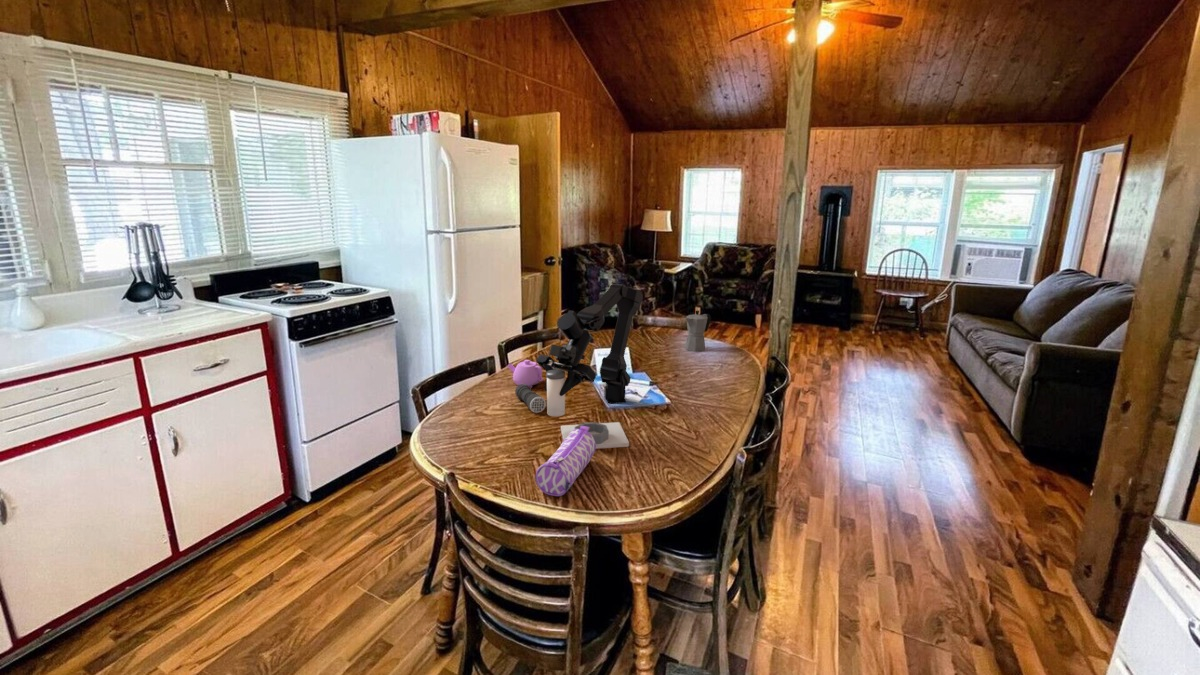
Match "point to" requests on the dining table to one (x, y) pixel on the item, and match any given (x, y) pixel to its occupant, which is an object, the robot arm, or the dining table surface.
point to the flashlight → (530, 398)
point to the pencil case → (566, 463)
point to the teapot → (526, 373)
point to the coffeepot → (696, 331)
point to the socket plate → (612, 435)
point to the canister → (555, 392)
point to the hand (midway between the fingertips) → (552, 393)
